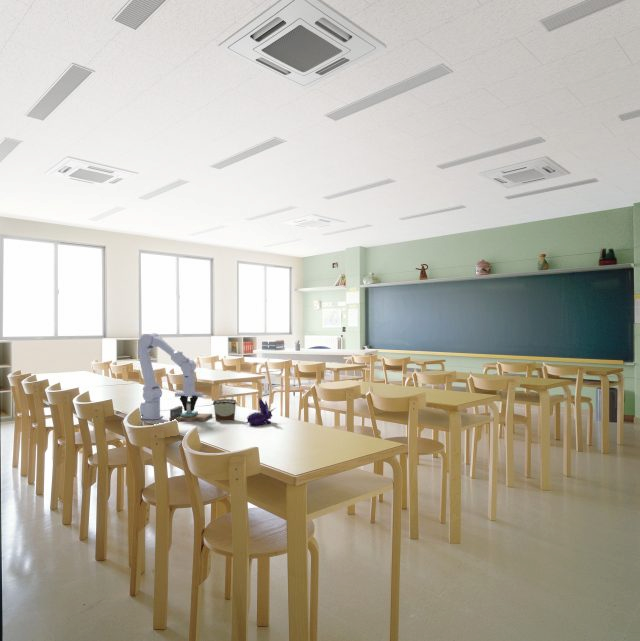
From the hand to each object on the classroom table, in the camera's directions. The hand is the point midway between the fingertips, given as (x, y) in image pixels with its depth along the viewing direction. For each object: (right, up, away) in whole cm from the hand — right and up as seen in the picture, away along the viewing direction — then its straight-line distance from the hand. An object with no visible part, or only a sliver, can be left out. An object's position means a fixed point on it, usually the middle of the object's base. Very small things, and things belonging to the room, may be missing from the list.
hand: (189, 410), depth 250 cm
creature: (+39, -4, -14) cm, 41 cm away
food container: (+20, -4, -3) cm, 20 cm away
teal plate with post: (0, -2, 0) cm, 2 cm away
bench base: (+1, -4, 0) cm, 4 cm away
